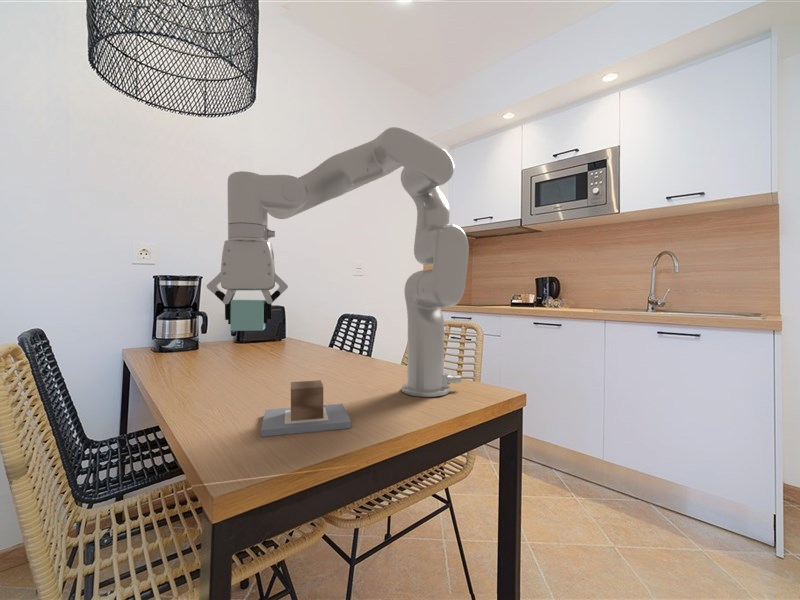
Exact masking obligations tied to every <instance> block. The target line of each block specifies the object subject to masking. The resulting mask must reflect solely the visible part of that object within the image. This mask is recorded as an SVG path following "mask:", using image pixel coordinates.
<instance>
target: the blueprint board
mask: <svg viewBox="0 0 800 600" xmlns="http://www.w3.org/2000/svg"><path fill="white" fill-rule="evenodd" d="M351 428H352V420H351V418H350V416H349V414H348V412H347V410H346V408H345V405H344V404H343V403H334V404H323V418H320V419H309V420H298V421H291V407H285V408H283V407H282V408H271V409H270V408H269V409H265V410H264V415H263V418H262V422H261V427H260V437H261V438H263V437H273V436H274V437H275V436H282V435H292V434H294V435H295V434H304V433H305V434H306V433H314V432H315V433H316V432H323V431H324V432H325V431H333V430H345V429H351Z"/></svg>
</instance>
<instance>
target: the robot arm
mask: <svg viewBox="0 0 800 600" xmlns="http://www.w3.org/2000/svg"><path fill="white" fill-rule="evenodd" d="M401 167H403V168H402V170H401V173H400V182H401V186H402V187H403V189H404V190H405V192H407V193H408V195H409V196H410V198H412V201H413V202H414V204H415V207H416V212H417V213H416V214H417V215H416V227H415V234H414V242H413V243H414V244H413V255H414V257H415V260H416V261H417V262H418V263H419V264H421V265H425V266H432V269H425V270H424V269H423V270H418V271H415V272H413V273H412V274H411V275H410V276H409V277H408V278H407V279H406V282H405V284H404V300H405V305H406V311H407V382H405V383H404V384H402V385H401V392H403V394H406V395H409V396H414V397H421V398H426V397H427V398H431V397H432V398H434V397H442V396H446V395H448V394H449V393H450V392H451V390H450V389H451V387H450V385H451V384H459V383H461V382H462V376H461V375H453V374H447V373H445V320H444V314H443V312H442V308H443V309H444V308H445V309H446V308H452V307H454V306H457V305H458V304H459V303H460V301H461V300H462V298H463V296H464V293H465V289H466V283H467V282H466V281H467V271H468V265H469V264H468V263H469V252H470V250H469V248H470V246H469V241H468V237H467V234H466V232H465V231H464V230H463V228H461V226H458V225H456V224H453V223H452V224H451V223H450V214H451V213H450V212H451V211H450V205H449V202H448V200H447V199H446V196H445V195H444V193H443V192H442V191H441V190H440V188H439V187H440V186H444V185H445V184H446V183H448V182H449V181H450V180H451V179H452V177H453V175H454V171H455V163H454V160H453V158H452V156H451V155H450V153H448V151H447V150H446V149H444V148H442V147H441V146H439V145H437V144H435V143H434V142H431V141H429V140H427V139H426V138H424V137H422V136H420V135H418V134H416V133H415V132H412V131H409V130H407V129H404V128H401V127H396V126H392V127H389V128H386V129H385V130H384V131H383V132H382V133H380V134H378V136H377V137H375V138H374V139H372V140H370V141H368V142H365V143H362V144H361V145H357V146H354V147H353V148H350V149H347V150H344V151H342V152H339V153H336V154H334V155H332V156H330V157H328V158H327V159H325V160H324V161H323V162H321V163H320V164H319V165H318V166H316V167H315V168H314V169H312V170H310V171H309V172H307V173H305V174H303V175H300V176H299V177H296V176H293V175H289V174H259V173H255V172H252V171H243V170H241V171H234V172H232V173H230V174H229V176H228V178H227V240H224V243H223V247H222V253H221V264H220V272H219V273H218V274H217V275H216V276H215V277H214V278H213V279H212V280H210V282H209V283H207V284H206V289H208V290H209V291H210V292H211V293H212V294H214V295H215V297H217V299H219V300H220V301H221V302H222V304H224V320H225V321H227V322H228V323H227V324H228V325H231V300H234V299H233V298H234V297H235V295H236V292H237V291H260V292H261V294H262V295H263V298H264V300H266V301H265V304H264V323H265V324H268V323H269V320H272V315H273V313H272V309H273V307H272V306H273V305H272V304H273V303H274V302H275V301H276V300H277V299H278V298H279V297H280V296H281V295H282V294H283V293H284V292H285V291H286V290H287V289H288V288H289V286H288V284H287V283H286V282H285V281H284V280H283V279H282V278H281V277H280V276H279V275H278V274H276V268H275V256H274V254H275V253H274V249H273V244H272V243H271V242H270V241H269V239H271V238H275V237H276V231H275V230H271V229H269V228H268V219H269V218H268V215H269V216H271V217H273V218H274V219H278V220H286V219H289V218H292V217H294V216H297V215H299V214H301V213H303V212H306V211H308V210H311V209H312V208H315V207H317V206H319V205H321V204H323V203H325V202H329V201H331V200H333V199H337V198H339V197H341V196H343V195H345V194H347V193H349V192H352V191H354V190H357V189H359V188H361V187H363V186H364V185H368V184H370V183H371V182H374V181H377V180H379V179H380V178H383V177H385V176H388V175H390V174H391V173H393V172H394V171H397V170H398V169H399V168H401ZM219 284H220V285H221V288H222V289H224V290H227V291H226V293H224V292H223V291H222V290H221V289H220V288H219V287H218V286H219ZM275 284H277V285H278V286H279V287H278V288H277V289H276V290H274V292H273V293H272V294H271V292H270V290H272V289H274V288H275V286H276V285H275Z"/></svg>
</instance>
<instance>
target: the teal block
mask: <svg viewBox="0 0 800 600" xmlns="http://www.w3.org/2000/svg"><path fill="white" fill-rule="evenodd" d="M265 301H266V300H265V299H232V300H231V324H230V332H231V331H232V332H239V331H241V332H244V331H245V332H246V331H247V332H248V331H255V332H256V331H264V330H265V329H266V323H264V304H265Z"/></svg>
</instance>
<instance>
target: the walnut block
mask: <svg viewBox="0 0 800 600" xmlns="http://www.w3.org/2000/svg"><path fill="white" fill-rule="evenodd" d="M323 405H324V385H323V381H322V380H321V379H319V380H303V381H290V408H291V421H298V420H309V419H320V418H323Z"/></svg>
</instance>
